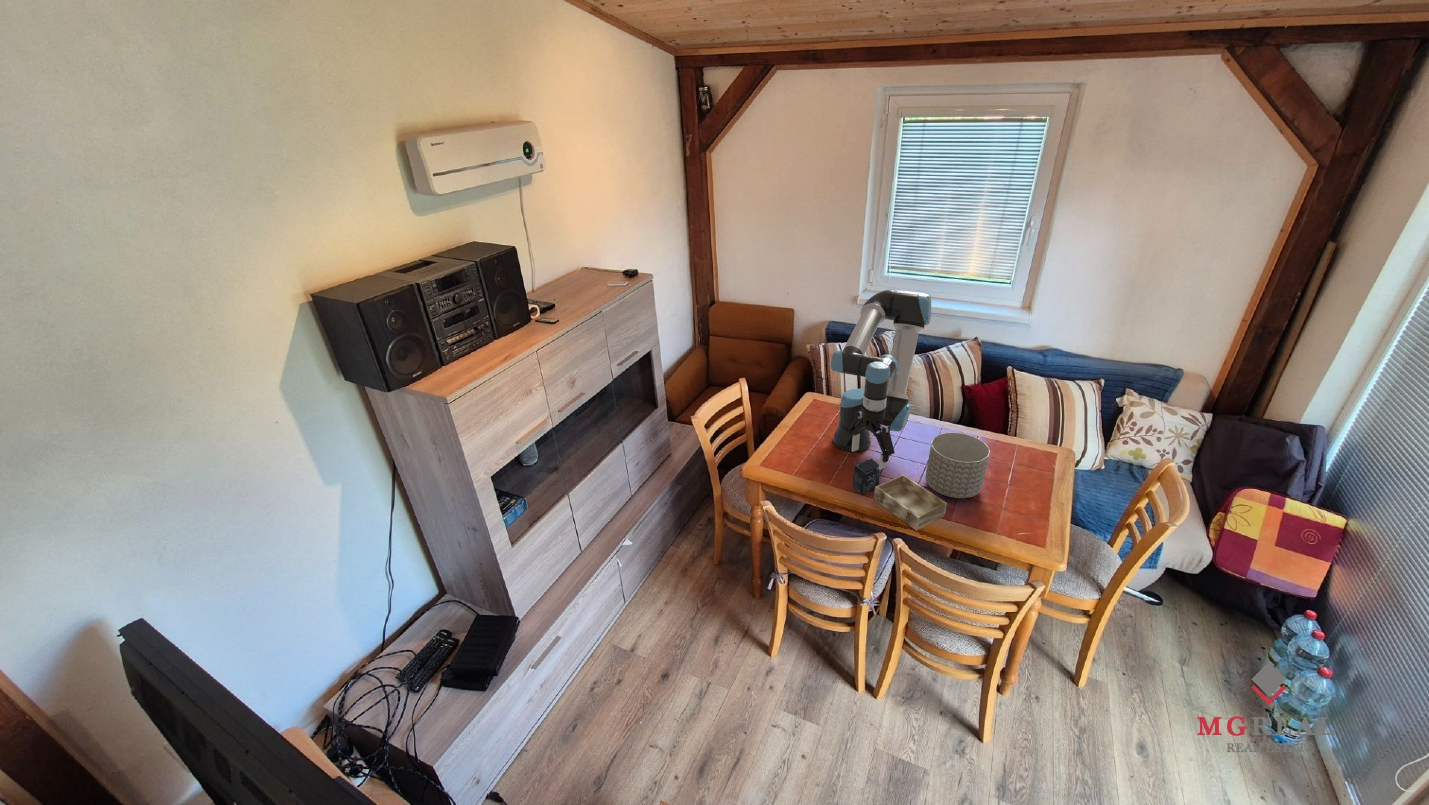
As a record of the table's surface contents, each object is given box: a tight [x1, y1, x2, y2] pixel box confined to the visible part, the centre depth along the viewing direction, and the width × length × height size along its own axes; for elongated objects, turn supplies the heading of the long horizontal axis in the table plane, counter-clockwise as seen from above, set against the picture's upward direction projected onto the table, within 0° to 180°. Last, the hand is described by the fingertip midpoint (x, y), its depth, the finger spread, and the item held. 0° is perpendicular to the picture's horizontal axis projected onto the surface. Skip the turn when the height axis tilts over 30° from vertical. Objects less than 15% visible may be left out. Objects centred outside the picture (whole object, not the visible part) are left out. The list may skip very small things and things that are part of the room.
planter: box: [925, 431, 991, 499], centre depth 200 cm, size 19×19×18 cm
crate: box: [873, 473, 948, 531], centre depth 195 cm, size 20×14×6 cm
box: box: [851, 458, 882, 496], centre depth 204 cm, size 8×6×11 cm
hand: (868, 459), depth 200 cm, fingers open, 13 cm apart
